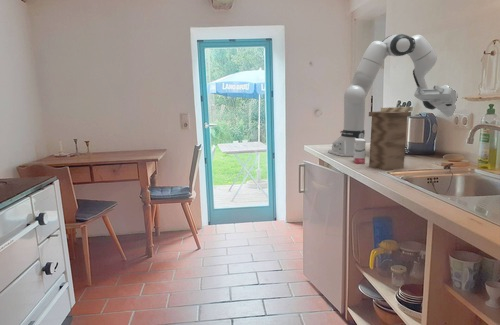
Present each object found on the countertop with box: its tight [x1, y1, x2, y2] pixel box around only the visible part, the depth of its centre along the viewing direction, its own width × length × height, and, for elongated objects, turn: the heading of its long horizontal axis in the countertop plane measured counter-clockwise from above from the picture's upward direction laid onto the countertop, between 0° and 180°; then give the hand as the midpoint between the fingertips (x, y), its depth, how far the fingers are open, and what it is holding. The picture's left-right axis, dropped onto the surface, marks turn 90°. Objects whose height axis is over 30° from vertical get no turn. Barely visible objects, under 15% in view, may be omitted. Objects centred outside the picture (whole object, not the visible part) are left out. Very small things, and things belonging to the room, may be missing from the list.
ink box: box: [353, 138, 367, 164], centre depth 178 cm, size 9×5×12 cm, turn 168°
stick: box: [380, 106, 414, 112], centre depth 164 cm, size 20×2×2 cm, turn 120°
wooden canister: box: [368, 110, 412, 171], centre depth 164 cm, size 12×14×26 cm
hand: (426, 87), depth 178 cm, fingers open, 8 cm apart
